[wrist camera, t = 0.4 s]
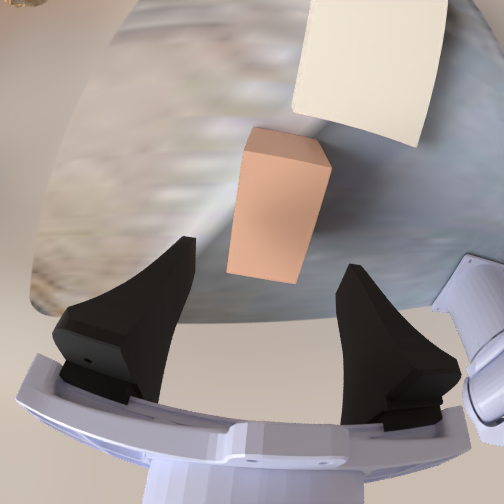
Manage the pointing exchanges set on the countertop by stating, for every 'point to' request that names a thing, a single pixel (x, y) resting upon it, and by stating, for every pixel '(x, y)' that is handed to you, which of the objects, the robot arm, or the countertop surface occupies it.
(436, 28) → the cream base brick
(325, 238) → the countertop surface
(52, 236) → the countertop surface
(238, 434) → the robot arm
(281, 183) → the terracotta brick
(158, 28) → the countertop surface
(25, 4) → the lion figurine
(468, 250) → the countertop surface
